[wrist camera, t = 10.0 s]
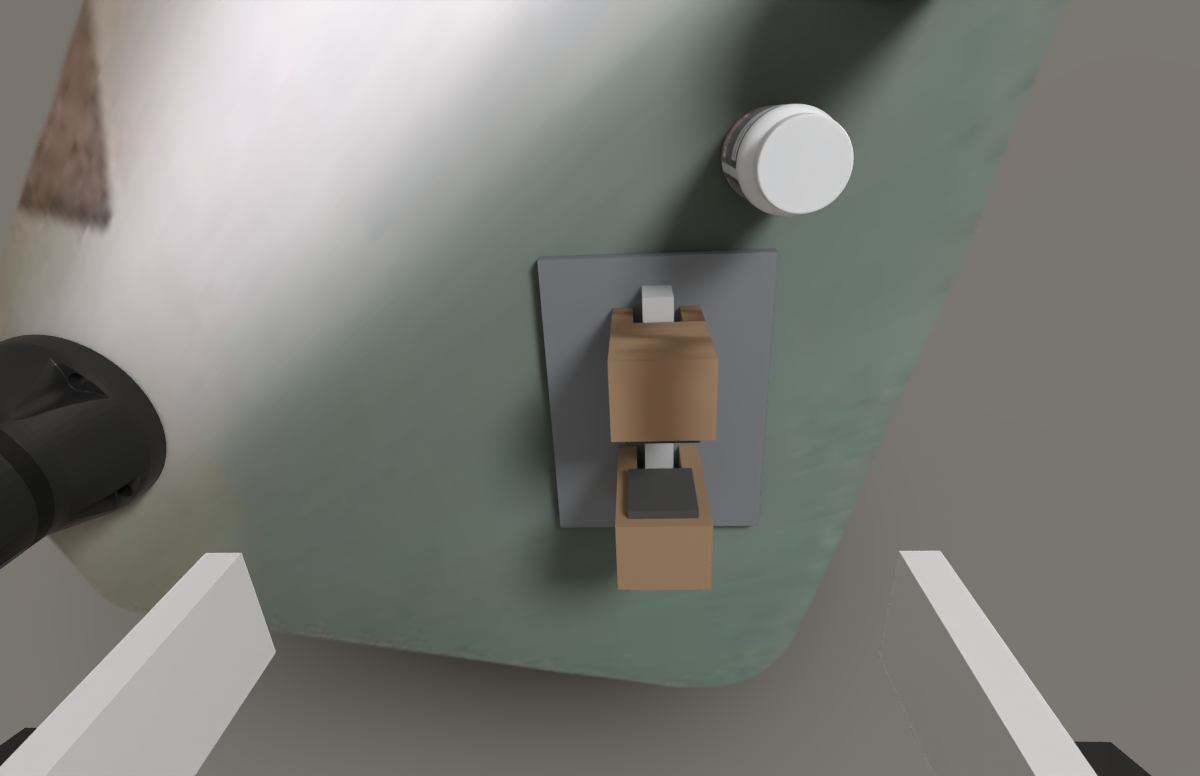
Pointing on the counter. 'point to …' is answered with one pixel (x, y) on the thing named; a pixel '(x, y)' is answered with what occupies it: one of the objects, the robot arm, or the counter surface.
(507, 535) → the counter surface
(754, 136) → the pill bottle
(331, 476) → the counter surface
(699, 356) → the notched tan block
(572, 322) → the rail
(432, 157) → the counter surface
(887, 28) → the counter surface
